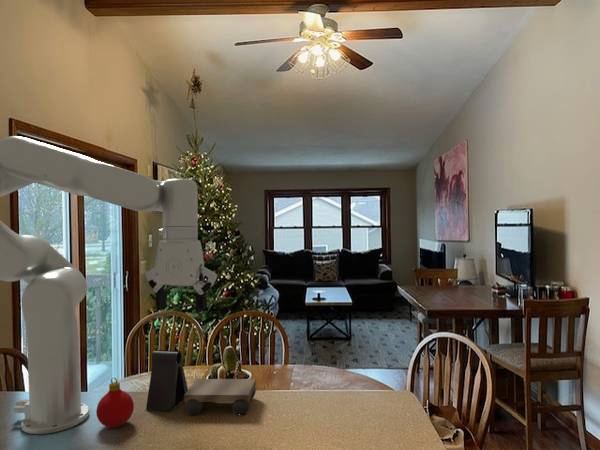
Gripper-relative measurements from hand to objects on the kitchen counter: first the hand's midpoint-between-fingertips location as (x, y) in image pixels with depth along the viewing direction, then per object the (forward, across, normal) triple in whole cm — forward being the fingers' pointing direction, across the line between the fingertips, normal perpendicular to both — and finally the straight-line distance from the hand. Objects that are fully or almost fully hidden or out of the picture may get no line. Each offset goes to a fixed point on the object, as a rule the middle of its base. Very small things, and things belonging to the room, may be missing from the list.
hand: (180, 310), depth 98 cm
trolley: (+22, +9, +2) cm, 23 cm away
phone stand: (+22, -4, +1) cm, 22 cm away
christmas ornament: (+22, -9, -11) cm, 26 cm away
